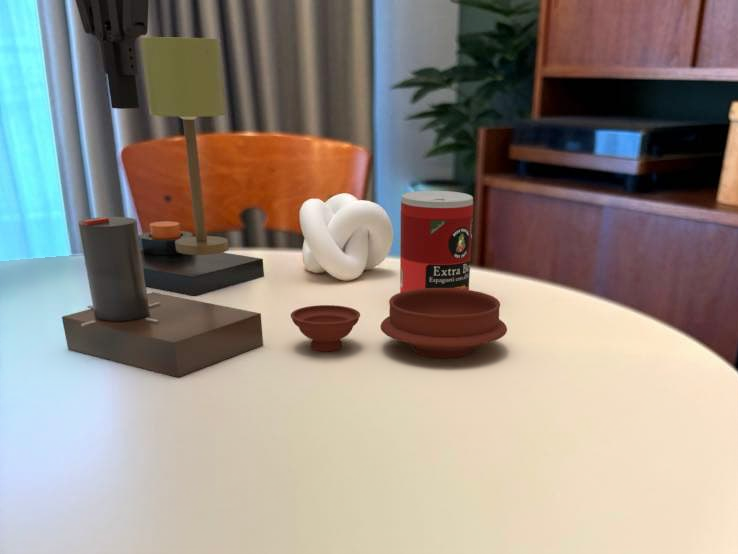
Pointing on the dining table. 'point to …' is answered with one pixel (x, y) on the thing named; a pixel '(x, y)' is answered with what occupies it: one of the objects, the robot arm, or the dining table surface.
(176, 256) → the lamp base
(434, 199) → the canned food
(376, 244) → the white knot sculpture
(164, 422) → the dining table surface
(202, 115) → the desk lamp
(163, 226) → the lamp switch
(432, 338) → the pottery
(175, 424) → the dining table surface
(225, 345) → the panel
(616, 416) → the dining table surface
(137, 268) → the dimmer knob
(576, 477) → the dining table surface
